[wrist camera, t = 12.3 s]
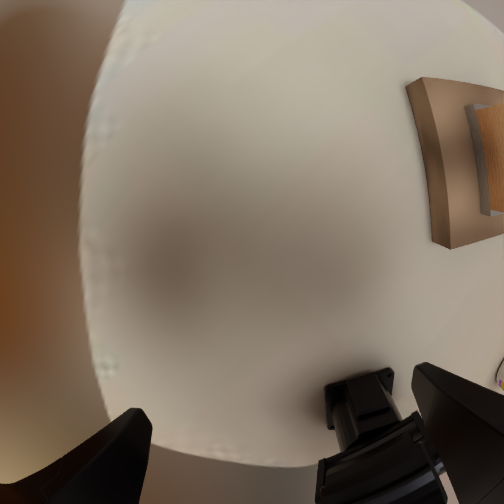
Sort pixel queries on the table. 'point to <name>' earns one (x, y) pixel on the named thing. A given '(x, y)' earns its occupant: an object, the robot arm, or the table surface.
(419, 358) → the table surface
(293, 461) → the table surface
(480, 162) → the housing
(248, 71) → the table surface
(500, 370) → the supplement bottle
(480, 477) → the robot arm
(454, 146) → the walnut stand
